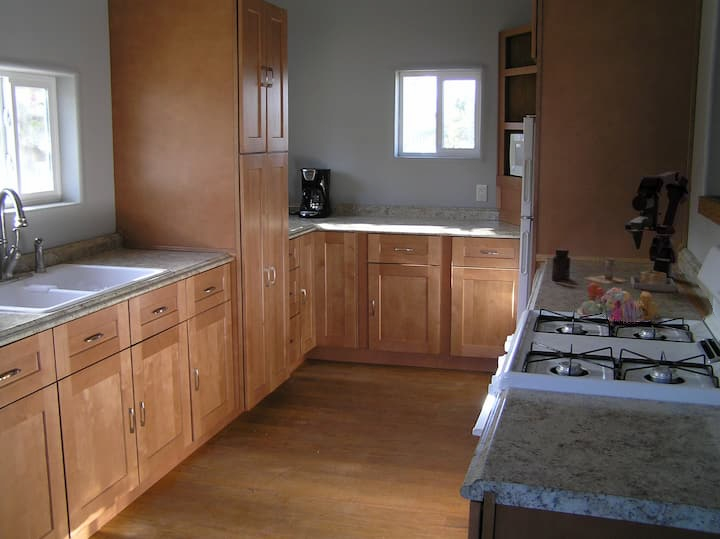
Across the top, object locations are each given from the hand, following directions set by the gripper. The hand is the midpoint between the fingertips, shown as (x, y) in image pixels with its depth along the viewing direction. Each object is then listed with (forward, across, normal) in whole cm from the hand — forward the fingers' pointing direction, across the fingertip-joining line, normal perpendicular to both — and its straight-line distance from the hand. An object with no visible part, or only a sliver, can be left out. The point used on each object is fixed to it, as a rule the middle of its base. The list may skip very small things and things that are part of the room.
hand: (647, 250), depth 294 cm
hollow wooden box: (+12, +8, -6) cm, 15 cm away
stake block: (+12, -9, -12) cm, 19 cm away
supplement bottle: (+12, -18, -26) cm, 34 cm away
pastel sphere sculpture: (+13, +32, -51) cm, 62 cm away
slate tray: (+12, +8, -6) cm, 16 cm away
